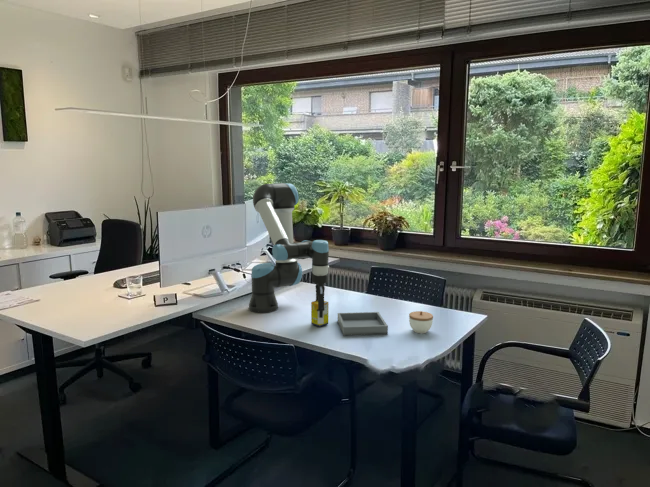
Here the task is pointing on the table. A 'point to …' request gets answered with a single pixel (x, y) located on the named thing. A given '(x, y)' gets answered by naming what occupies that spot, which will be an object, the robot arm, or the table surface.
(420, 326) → the lidded jar
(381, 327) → the desk tray
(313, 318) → the supplement box
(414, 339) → the table surface
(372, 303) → the table surface
